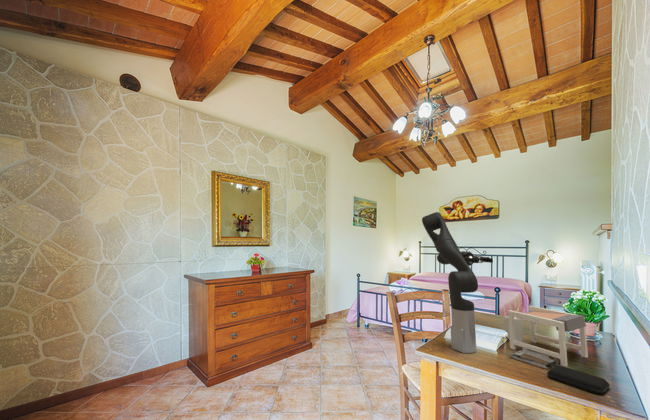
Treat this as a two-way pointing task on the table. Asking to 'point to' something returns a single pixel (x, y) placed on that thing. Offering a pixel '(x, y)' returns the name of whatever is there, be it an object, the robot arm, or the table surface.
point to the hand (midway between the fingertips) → (485, 260)
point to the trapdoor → (563, 319)
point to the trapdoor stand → (534, 336)
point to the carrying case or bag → (578, 379)
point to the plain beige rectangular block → (517, 328)
